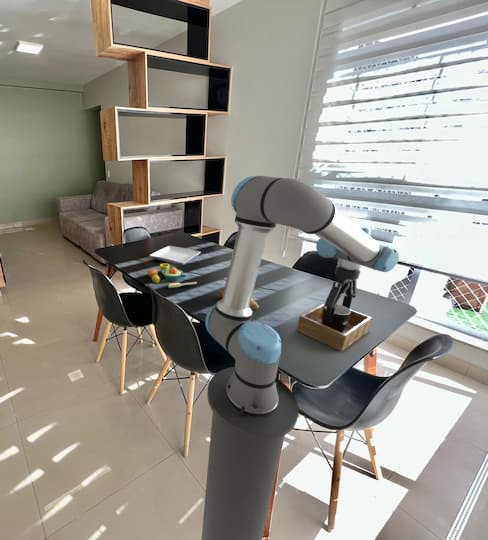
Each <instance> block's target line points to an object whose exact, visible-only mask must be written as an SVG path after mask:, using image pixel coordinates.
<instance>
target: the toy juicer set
mask: <svg viewBox="0 0 488 540" xmlns="http://www.w3.org/2000/svg"><path fill="white" fill-rule="evenodd" d="M170 266H171V265H170V263H167V262H165V263H160V264H159V269H160V273H161V274H162V275H163V277H164V278H165V279H166V280H167V281H168V282H171V283H168V284H167V287H168V289H177V288H180V287H183V286H188V285H189V286H190V285H197V284H198V283H197V282H198V281H191V282H185V283H181V282H178V280H180V279H181V278H186V277H187V273H186V272H184V271H183V270H181V269H180V268H179V269H178V268H176V267H175V266H172V267H170ZM148 277H149V278H151V281H152V283H154V284H158V283H159V282H160V281H161V277H160V276H159V273H158V271H157V270H156V266H154V267H153V268H152V269H151V270H150V271H149V272H148Z"/></svg>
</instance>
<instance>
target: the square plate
mask: <svg viewBox="0 0 488 540" xmlns="http://www.w3.org/2000/svg"><path fill="white" fill-rule="evenodd" d="M201 253H202V251H199V250H195V249H190V248H185V247H179V246H174V245H167V246H165V247H162V248H161V249H159V250H156V251H155V252H152V253H151V254H149V257H150V258H152V259H154V260H158V261H161V262H165V263H168V264H172V265H173V264H174V265H179V266H181V265H182V266H183V265H185V264H187V262H189V261H191V260H192V259H194V258H196V257H197V256H199V255H200V254H201Z"/></svg>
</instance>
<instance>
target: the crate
mask: <svg viewBox="0 0 488 540" xmlns="http://www.w3.org/2000/svg"><path fill="white" fill-rule="evenodd" d="M324 304H325V302H324V303H321V304H320V305H318V306H316V307H314V308H312V309H311V310H309V311H307V312H304V313H303V314H301V315H299V320H298V325H297V329H296V330H297V331H298V332H299V333H302V334H304V335H306V336H309V337H310V338H312V339H314V340H316V341H319V342H321V343H322V344H324V345H326V346H329V347H331V348H332V349H335V350H337V351H339V352H343V351H344V350H346V349H347V348H348V347H350V346H351V345H352V344H354V343H355V342H356V341H358V340H359V339H360V338H362V337H363V336H364V335H366V334H367V333H369V329H370V327H371V323H372V320H373V317H372V316H370V315H367V314H365V313H361V312H358V311H356V310H353V309H351V308H350V309H349V310H350V311H351V314H350V317H349V320H348V322H347V325H346V327H345V329H344V331H343V332H342V333H341V332H339V331H336V330H334V329H332V328H329V327H327V326H325V325H323V324H322V315H323V309H324Z"/></svg>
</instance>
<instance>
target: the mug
mask: <svg viewBox="0 0 488 540" xmlns="http://www.w3.org/2000/svg"><path fill="white" fill-rule="evenodd" d="M326 308H327V307H326V306H324V309H323V315H322V324H323V325H325V326H327V327H329V328H332V329H334V330H336V331H339V332H341V333H342V332H343V331H344V329H345V327H346V325H347V322H348V320H349V317H350V314H351V311H350V310H349V309H348V308H346V307H344V306H342V304H336V305H335V307H334V308H335V312H334V316H333V320H332V323H329V322H326V321H324V317H325V312H326Z"/></svg>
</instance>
